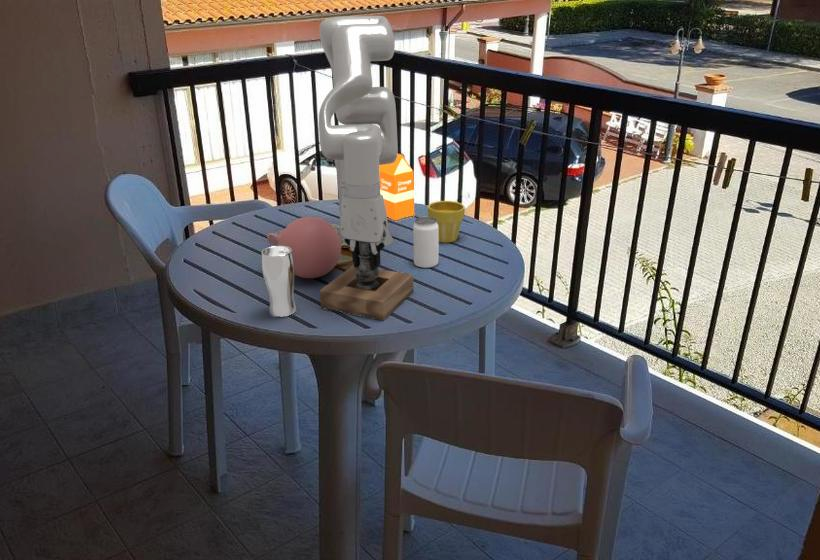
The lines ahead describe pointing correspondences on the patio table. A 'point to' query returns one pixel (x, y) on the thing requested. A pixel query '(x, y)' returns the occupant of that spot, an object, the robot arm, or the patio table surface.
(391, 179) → the orange juice
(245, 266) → the patio table surface
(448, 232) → the plant pot
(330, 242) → the pink party balloon
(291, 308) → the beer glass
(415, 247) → the can
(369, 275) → the grey chess piece
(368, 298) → the socket block
